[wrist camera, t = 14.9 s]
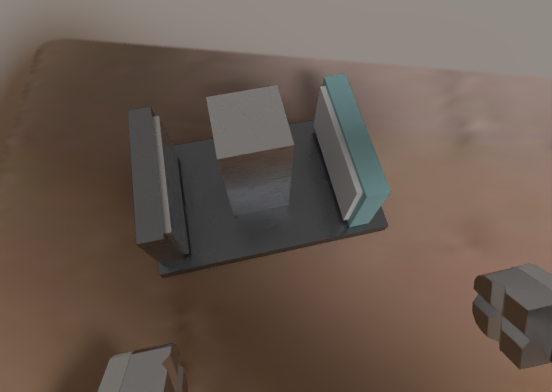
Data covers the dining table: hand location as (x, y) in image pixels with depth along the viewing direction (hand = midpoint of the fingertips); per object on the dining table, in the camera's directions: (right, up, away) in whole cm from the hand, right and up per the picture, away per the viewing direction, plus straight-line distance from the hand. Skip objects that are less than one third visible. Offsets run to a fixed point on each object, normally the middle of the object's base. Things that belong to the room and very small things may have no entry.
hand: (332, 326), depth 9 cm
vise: (-3, +4, +21) cm, 21 cm away
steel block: (-3, +4, +20) cm, 21 cm away
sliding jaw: (+4, +6, +20) cm, 22 cm away
